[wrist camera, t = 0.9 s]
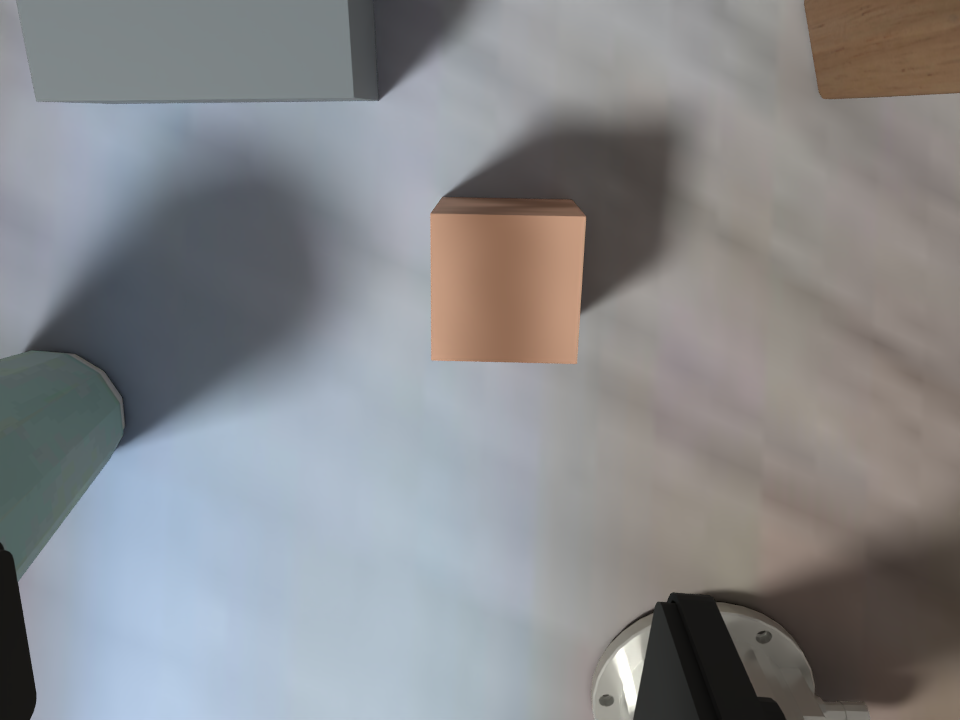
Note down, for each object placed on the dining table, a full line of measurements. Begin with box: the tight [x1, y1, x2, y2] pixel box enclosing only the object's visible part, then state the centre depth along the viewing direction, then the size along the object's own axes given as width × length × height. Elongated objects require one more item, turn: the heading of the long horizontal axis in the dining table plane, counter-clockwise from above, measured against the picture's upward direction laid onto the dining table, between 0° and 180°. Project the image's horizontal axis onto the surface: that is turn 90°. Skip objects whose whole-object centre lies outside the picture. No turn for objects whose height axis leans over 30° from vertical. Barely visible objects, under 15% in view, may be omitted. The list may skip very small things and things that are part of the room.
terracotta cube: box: [431, 197, 586, 364], centre depth 31 cm, size 6×6×6 cm
